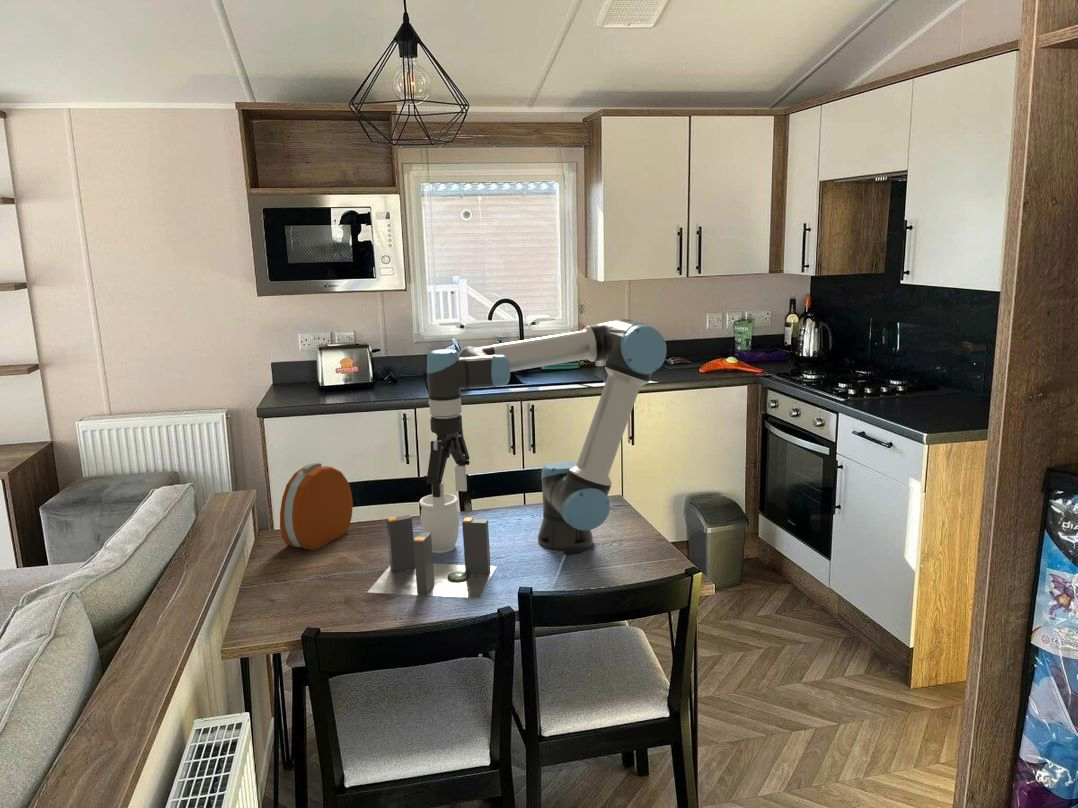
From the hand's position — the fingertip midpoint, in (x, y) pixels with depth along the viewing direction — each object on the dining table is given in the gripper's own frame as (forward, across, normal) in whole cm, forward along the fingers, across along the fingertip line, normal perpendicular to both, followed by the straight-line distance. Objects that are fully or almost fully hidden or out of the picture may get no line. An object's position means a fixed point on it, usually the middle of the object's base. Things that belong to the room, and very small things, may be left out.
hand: (450, 499), depth 199 cm
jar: (+22, -18, -12) cm, 31 cm away
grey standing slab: (+21, +8, -4) cm, 23 cm away
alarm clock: (+22, -18, -51) cm, 58 cm away
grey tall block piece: (+21, -5, +4) cm, 22 cm away
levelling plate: (+22, +2, -5) cm, 23 cm away
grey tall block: (+21, -3, -16) cm, 26 cm away
